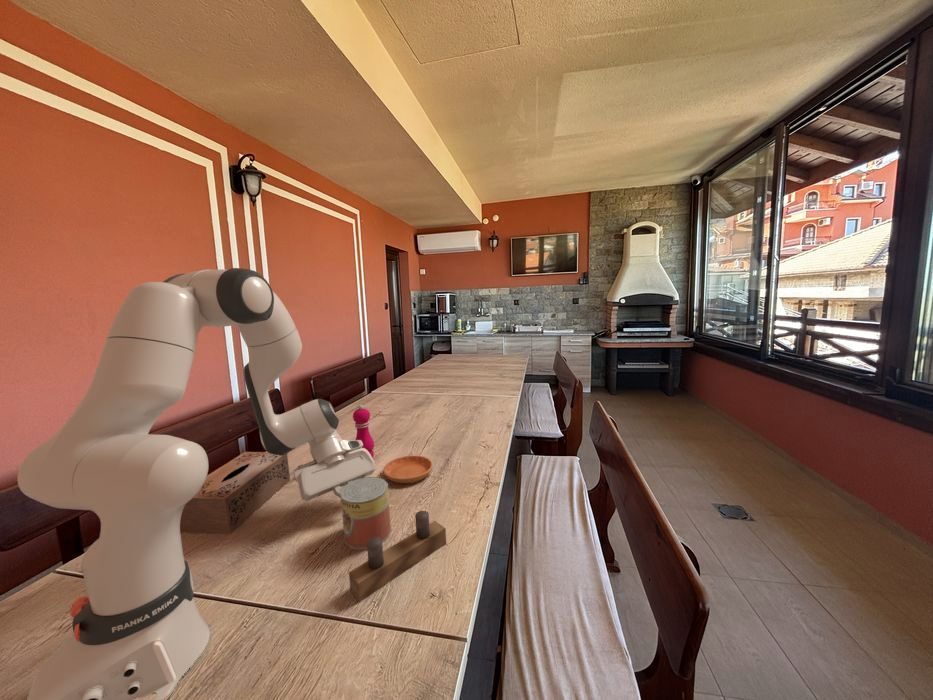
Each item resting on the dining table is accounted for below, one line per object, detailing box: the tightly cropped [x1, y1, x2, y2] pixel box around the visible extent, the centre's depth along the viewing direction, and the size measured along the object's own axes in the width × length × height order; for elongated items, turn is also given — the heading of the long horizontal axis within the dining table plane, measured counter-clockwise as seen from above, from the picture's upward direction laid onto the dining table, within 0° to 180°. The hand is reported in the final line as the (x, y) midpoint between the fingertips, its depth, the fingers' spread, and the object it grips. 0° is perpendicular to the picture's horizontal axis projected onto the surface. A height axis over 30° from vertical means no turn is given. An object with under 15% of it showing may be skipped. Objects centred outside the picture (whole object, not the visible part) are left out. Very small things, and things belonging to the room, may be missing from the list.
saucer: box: [383, 455, 433, 485], centre depth 116 cm, size 16×16×3 cm
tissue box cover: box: [180, 451, 291, 535], centre depth 101 cm, size 26×14×10 cm, turn 174°
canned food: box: [340, 476, 392, 550], centre depth 86 cm, size 11×11×12 cm
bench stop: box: [348, 510, 447, 602], centre depth 76 cm, size 22×4×9 cm, turn 134°
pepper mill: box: [352, 404, 375, 459], centre depth 127 cm, size 7×7×20 cm
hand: (349, 500), depth 93 cm, fingers closed
